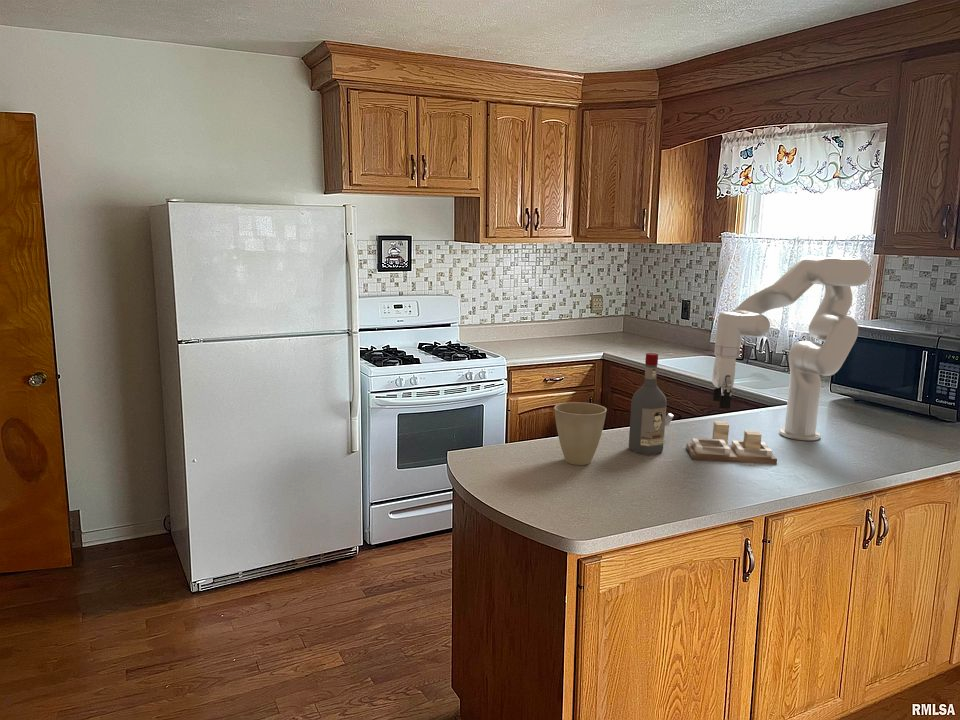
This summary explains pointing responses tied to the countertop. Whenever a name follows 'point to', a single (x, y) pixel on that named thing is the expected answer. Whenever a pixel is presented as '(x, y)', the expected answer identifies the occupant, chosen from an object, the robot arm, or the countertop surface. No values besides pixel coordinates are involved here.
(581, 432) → the plant pot
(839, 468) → the countertop surface
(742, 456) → the board
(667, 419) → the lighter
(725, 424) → the tan wooden block
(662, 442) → the liquor
